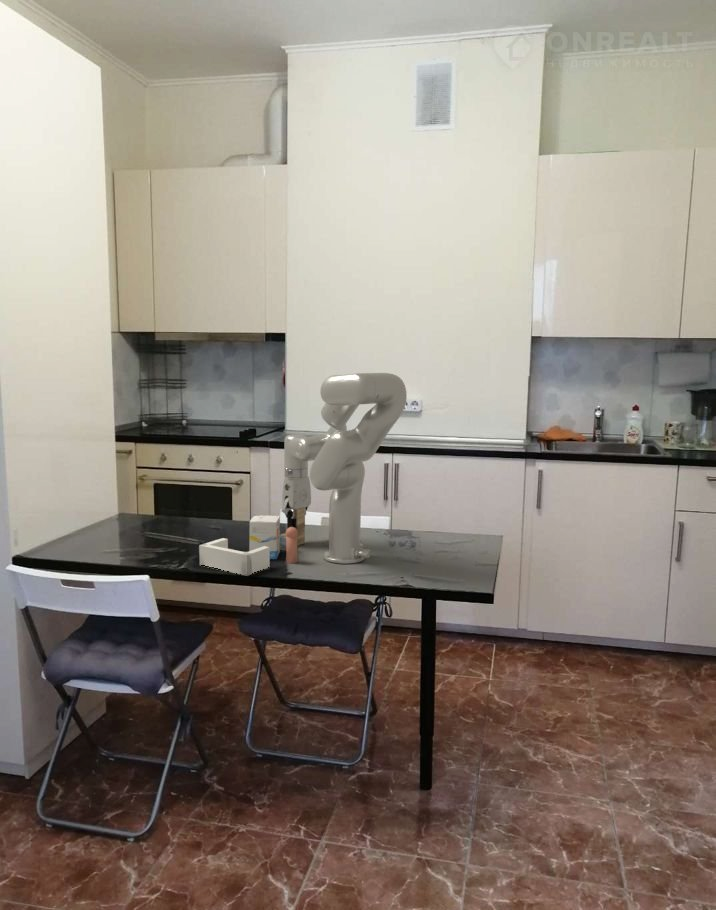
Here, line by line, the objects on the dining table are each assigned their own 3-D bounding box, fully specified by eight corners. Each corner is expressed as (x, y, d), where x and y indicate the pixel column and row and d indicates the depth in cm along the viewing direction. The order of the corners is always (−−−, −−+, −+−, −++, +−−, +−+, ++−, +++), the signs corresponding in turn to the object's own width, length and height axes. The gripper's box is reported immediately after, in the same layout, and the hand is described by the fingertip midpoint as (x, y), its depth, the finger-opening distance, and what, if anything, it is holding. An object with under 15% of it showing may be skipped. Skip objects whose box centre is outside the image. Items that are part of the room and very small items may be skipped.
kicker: (312, 544, 235) (312, 502, 233) (291, 551, 226) (291, 508, 224) (287, 539, 240) (287, 498, 238) (266, 547, 231) (266, 504, 229)
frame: (269, 567, 210) (269, 547, 210) (247, 575, 202) (246, 555, 201) (222, 557, 220) (222, 538, 219) (199, 565, 211) (199, 545, 211)
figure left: (300, 561, 217) (300, 526, 215) (292, 564, 214) (292, 529, 212) (290, 559, 219) (290, 525, 217) (283, 562, 216) (283, 527, 214)
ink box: (276, 559, 218) (276, 521, 217) (248, 559, 218) (248, 521, 217) (280, 551, 227) (280, 515, 225) (253, 551, 227) (253, 514, 225)
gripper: (289, 477, 224) (289, 535, 226) (320, 470, 238) (320, 525, 240) (270, 475, 228) (270, 532, 230) (302, 468, 242) (302, 522, 244)
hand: (296, 528), depth 235 cm, fingers closed on kicker, 4 cm apart
